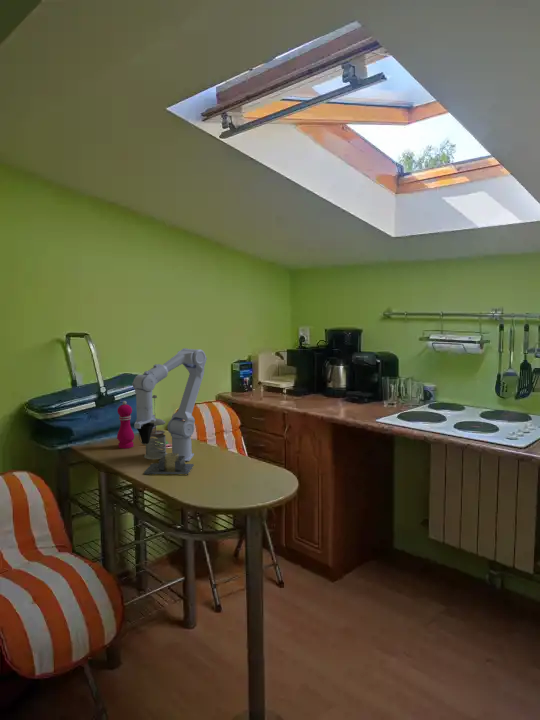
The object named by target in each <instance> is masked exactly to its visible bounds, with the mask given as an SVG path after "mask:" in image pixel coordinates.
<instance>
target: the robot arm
mask: <svg viewBox="0 0 540 720" xmlns="http://www.w3.org/2000/svg"><path fill="white" fill-rule="evenodd" d="M206 355H207V354H206V353H205V351H204V350H203V349H196V348H195V349H194V348H185V347H184V348H182V349H181V350H179V351H177V353H176V354H175V355H174V356H173V357H171V358H170V359H168V360H167V361H166V362H164V363H163V364H160V363H157V364H156V363H155V364H154V365H153V366H152V367H151V368H150V369H148V370H145V371H144V372H143V374H137V375H136V376H135V377H134V378H133V382H131V385H132V387H133V389H134V393H135V399H136V401H135V403H136V419H135V422H134V425H133V426H134V429H135V430H137V432H138V434H140V440H141V442H142V443H141V445H143V444H148V443H149V441H150V438H151V437H150V435H151V431H153V429H154V428H155V426H154V423H150V422H154V421H156V419H155V418H156V414H153V409H154V408H153V398H152V396H153V390H154V389H155V387H156V386H157V384H158V383H160V382H162V380H164V379H165V378H167V377H168V373H169V372H171V371H173V370H174V369H175V368H178V367H179V366H181V365H183V367H184V368H185V369H186V370H187V372H188V378H187V381H186V385H185V389H184V390H183V391H184V392H183V395H182V397H181V400H180V403H179V404H180V405H179V407H178V410H177V411H176V412H175V413H173V414H172V417H171V419H169V421H168V423H167V431H168V433H169V434H170V437H171V450H172V452H171V453H178V454H179V456H185V462H190V461H191V459H192V458H193V457H194V455H195V453H193V452H192V451H193V450H192V449H193V446H192V438H191V437H192V435H193V434H194V432H195V423H196V422H195V421H196V420H195V417H194V416H193V412H194V409H195V404H196V402H197V399H198V395H199V391H200V387H201V384H202V381H203V379H204V375H205V366H206V363H207V360H208V358H207V356H206Z"/></svg>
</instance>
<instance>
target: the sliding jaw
mask: <svg viewBox="0 0 540 720" xmlns="http://www.w3.org/2000/svg"><path fill="white" fill-rule="evenodd" d="M158 463H159V470H165V455H164V456H163V457H162V458H161V459H158Z"/></svg>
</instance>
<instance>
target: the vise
mask: <svg viewBox="0 0 540 720" xmlns="http://www.w3.org/2000/svg"><path fill="white" fill-rule="evenodd" d="M193 466H195V464H194V463H186V461H185V456H179V457H178V458H177V460H176V461H175V470H168V469H165V470H159V462H158V463H157V462H155V463H154V462H152V463H151V464H150V465H149V466H148V467H147V468H146V469H145V471H144V473H143V474H144V475H149V474H151V475H152V474H154V476H155V474H188V473H189V472H190V473H191V471H192V470H193V468H194V467H193ZM192 467H193V468H192ZM191 469H192V470H191ZM190 470H191V471H190ZM190 473H189V474H190ZM189 474H188V475H189Z"/></svg>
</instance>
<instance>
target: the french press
mask: <svg viewBox="0 0 540 720" xmlns="http://www.w3.org/2000/svg"><path fill="white" fill-rule="evenodd" d="M152 399H153V400H154V403H153V404H154V405H156V399H158V397H157V394H152ZM155 419H156V421H154V422H150V423H154V430H153V429H152V431H151V435H150V441H149V443H148V444H142V440H141V437H140V434H139V433H137V434H138V439H139V442H140V444H142V445H144V446H145V455H144V456H143V457H144V459H147V460H160V459H161V458H162V457H163V456H164V455H165V456H166V455H167V454H168V452H167V448H166V445H167V443H166V435H165V431H164V430H161V429H160V430H159V429H158V430H157V428H156V427H157V426H158V427H159V426H162V425H166V421H165V420H163V419H162V418H161V419H160V418H156V417H155Z"/></svg>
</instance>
